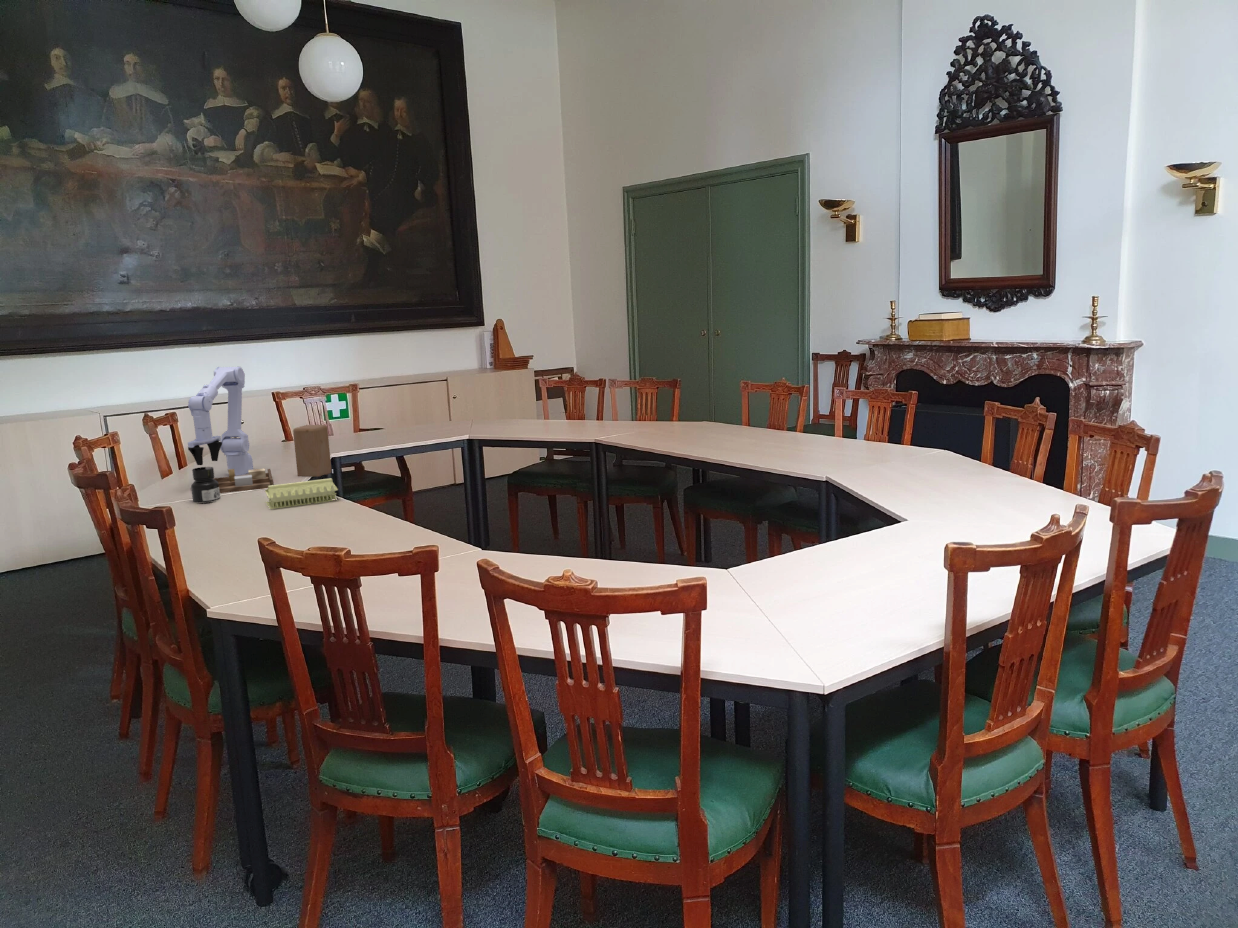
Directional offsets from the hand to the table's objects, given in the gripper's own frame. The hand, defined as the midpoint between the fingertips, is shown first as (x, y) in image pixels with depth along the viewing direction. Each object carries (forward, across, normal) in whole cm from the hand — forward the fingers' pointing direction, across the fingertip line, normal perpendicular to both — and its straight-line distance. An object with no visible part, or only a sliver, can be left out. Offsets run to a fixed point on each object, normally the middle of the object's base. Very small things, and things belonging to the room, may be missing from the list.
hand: (207, 462), depth 332 cm
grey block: (+9, 0, +16) cm, 18 cm away
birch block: (+9, -9, +10) cm, 16 cm away
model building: (+10, +12, +51) cm, 54 cm away
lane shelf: (+10, -3, +11) cm, 15 cm away
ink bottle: (+10, +20, +16) cm, 27 cm away
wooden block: (+10, -27, +27) cm, 40 cm away
